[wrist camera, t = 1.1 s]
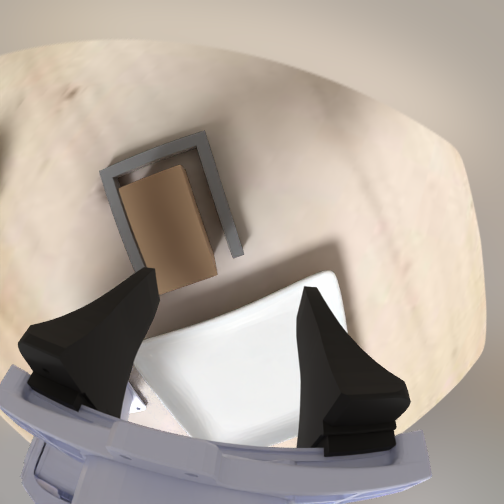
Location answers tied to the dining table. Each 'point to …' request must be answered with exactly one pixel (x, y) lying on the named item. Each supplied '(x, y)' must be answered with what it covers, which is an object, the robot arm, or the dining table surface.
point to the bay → (155, 155)
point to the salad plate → (237, 368)
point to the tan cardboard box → (169, 228)
